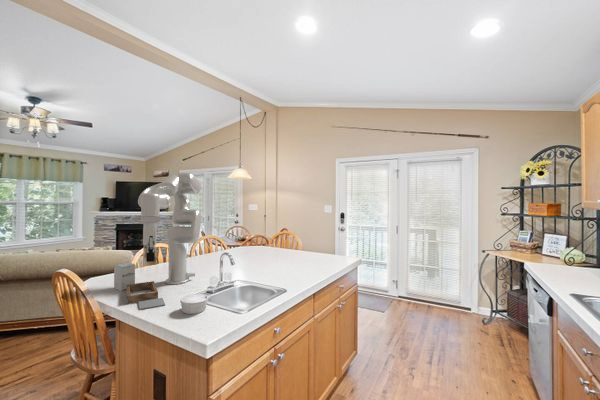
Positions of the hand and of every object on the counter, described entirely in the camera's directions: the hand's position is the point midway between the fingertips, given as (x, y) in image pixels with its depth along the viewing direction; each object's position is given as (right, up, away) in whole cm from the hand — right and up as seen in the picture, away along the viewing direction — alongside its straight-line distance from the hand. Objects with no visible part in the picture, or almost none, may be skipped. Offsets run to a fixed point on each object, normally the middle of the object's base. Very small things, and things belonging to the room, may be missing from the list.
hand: (150, 259), depth 131 cm
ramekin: (+23, -20, -7) cm, 31 cm away
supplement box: (-25, -20, +23) cm, 40 cm away
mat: (+1, -20, -1) cm, 20 cm away
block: (0, -2, 0) cm, 2 cm away
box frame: (-10, -20, +11) cm, 25 cm away
